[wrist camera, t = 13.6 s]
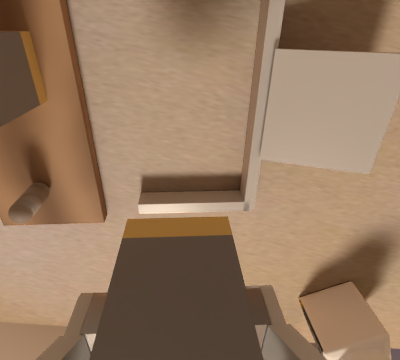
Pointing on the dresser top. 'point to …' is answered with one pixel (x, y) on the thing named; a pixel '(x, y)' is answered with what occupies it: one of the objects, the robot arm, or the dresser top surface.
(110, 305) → the sleeve
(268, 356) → the robot arm
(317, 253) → the dresser top surface
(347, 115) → the tray
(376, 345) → the medicine bottle
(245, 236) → the dresser top surface
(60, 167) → the pin board
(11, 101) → the sleeve
